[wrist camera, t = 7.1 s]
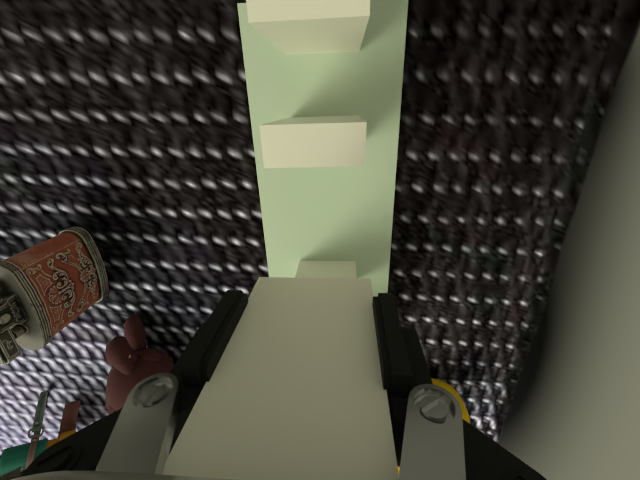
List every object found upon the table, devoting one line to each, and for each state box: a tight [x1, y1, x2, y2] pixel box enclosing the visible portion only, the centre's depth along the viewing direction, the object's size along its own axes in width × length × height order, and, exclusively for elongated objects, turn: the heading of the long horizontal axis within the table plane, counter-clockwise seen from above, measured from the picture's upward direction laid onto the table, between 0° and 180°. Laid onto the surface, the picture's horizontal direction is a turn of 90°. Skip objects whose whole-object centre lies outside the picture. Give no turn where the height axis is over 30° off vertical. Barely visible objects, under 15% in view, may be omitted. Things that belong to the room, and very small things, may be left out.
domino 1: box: [246, 0, 370, 55], centre depth 16 cm, size 2×5×9 cm, turn 92°
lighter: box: [0, 227, 109, 365], centre depth 26 cm, size 8×3×10 cm, turn 179°
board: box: [237, 0, 408, 296], centre depth 25 cm, size 28×11×1 cm, turn 2°
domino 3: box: [295, 261, 357, 279], centre depth 23 cm, size 2×5×9 cm, turn 92°
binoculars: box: [0, 391, 81, 476], centre depth 36 cm, size 9×9×10 cm
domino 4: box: [163, 277, 399, 480], centre depth 10 cm, size 2×5×9 cm, turn 92°
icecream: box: [105, 315, 174, 414], centre depth 32 cm, size 7×8×15 cm
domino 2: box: [259, 115, 367, 168], centre depth 19 cm, size 2×5×9 cm, turn 92°
